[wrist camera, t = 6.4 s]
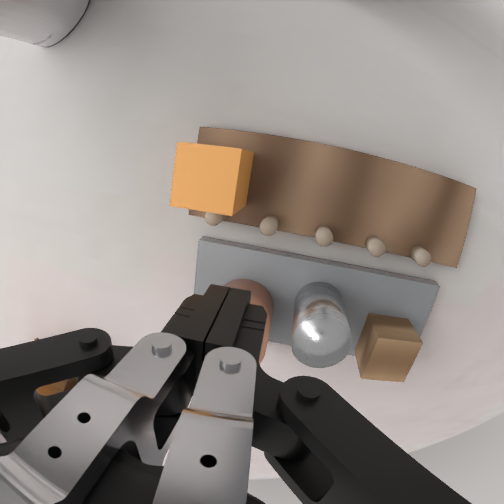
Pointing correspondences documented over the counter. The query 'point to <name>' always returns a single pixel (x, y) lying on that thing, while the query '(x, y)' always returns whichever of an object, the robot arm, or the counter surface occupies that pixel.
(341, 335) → the metal canister
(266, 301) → the salmon domed cylinder
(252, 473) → the counter surface
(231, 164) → the orange block
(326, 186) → the rail
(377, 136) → the counter surface
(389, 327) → the oak block
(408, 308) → the slate tray
